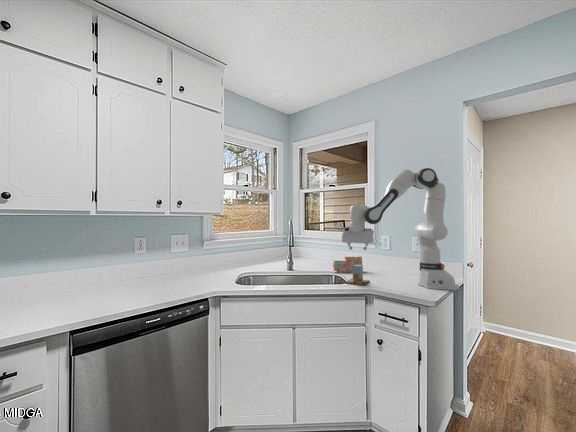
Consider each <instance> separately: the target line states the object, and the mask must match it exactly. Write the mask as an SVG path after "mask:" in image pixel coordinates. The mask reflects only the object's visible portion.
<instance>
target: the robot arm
mask: <svg viewBox="0 0 576 432" xmlns="http://www.w3.org/2000/svg"><path fill="white" fill-rule="evenodd" d="M411 187H414V188H416V189H418V190H419V189H420V190H423V189H424V190H425V198H424V204H423V210H422V212H423V214H424V216H425V221H423V222H419V223H418V224H416V226H414V234H415V236H416V238H417V241H418V245H419V250H420V257H419V258H420V262H419V271H420V272H419V278H418V282H417V285H418V286H421V287H424V288H426V289H435V290H445V291H446V290H448V291H457V290H460V285H459V284H457V283H456V281H455V278H454V276H453V275H452V274H451V273H449V272H448V271H447V270H445V264H444V263H442V262H441V249H440V248H439V246H438V244H437V241H441V240H444V239H446V238H447V236H448V232H449V231H448V228H447V226H446V225H445V221H444V219H445V218H444V211H445V210H444V209H445V202H446V194H447V193H446V185H445V184H444V183H441V182H440V181H439V177H438V176H437V172H436V171H435V170H434V169H432V168H431V167H426V168H422V169H420V170H419V171H417V172H414V171H412V170H410V169H404V170H402V171H401V172H399V173H398V174H397V175H396V176H394V178H393V179H392V180H391V181H390V182H389V184H388V185H387V186H386V189H385V193H384V195H383V196H382V198H380V200H379V201H378V202H376V204H375V205H374V206H372V207H369V206H368V205H366V204H364V203H363V202H359V203H353V204H352V205H351V206H350V208H349V210H350V212H349V218H350V222H349V223H350V225H349V226H346V227H344V228H343V229H342V231H343V232H342V234H341V242H342V243H346V245H347V247H348V249H349V250H350V251H352V250H353V246H352V244H364V245H365V246H364V247H363V251H367V247H368V246H369V244H373V243H374V242H375V237H374V234H375V233H374V230H373V228H367V227H366V228H365V223H368V224H370V225H376V224H378V223H380V221H381V220H382V217H383V214H384V212H386V210H387V209H388V208H389V207H390V206H391V205H392V203H393V202H394V201H396V200H397V199H399V198H400V197H401V196H403V195H404V194H405V193H406V192H407V191H408V190H409V189H410V188H411ZM351 243H352V244H351Z"/></svg>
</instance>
